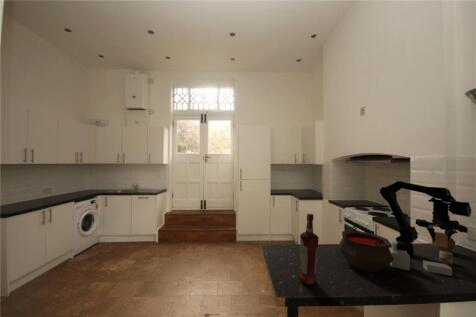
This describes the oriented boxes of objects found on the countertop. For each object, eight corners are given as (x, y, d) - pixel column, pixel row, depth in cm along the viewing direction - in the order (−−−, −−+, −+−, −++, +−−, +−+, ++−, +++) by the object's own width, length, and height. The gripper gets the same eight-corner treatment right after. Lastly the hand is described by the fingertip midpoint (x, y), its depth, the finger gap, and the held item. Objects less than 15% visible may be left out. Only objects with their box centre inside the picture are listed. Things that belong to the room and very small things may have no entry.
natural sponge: (436, 252, 122) (437, 235, 123) (430, 247, 130) (431, 231, 131) (457, 256, 118) (458, 239, 119) (450, 250, 126) (450, 234, 127)
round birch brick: (442, 263, 109) (442, 253, 109) (437, 259, 114) (437, 250, 114) (454, 265, 107) (455, 255, 107) (449, 261, 112) (449, 252, 112)
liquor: (296, 276, 90) (298, 211, 91) (312, 276, 90) (315, 212, 91) (302, 286, 83) (304, 216, 83) (320, 287, 83) (322, 217, 84)
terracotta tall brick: (435, 245, 106) (436, 234, 106) (432, 242, 110) (432, 231, 110) (447, 247, 104) (447, 235, 104) (443, 244, 108) (443, 233, 108)
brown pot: (407, 280, 91) (408, 243, 91) (350, 276, 92) (352, 239, 92) (374, 255, 115) (375, 226, 115) (329, 252, 116) (330, 223, 116)
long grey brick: (427, 271, 100) (427, 264, 100) (423, 267, 104) (423, 260, 104) (451, 276, 96) (452, 269, 96) (446, 271, 100) (446, 264, 101)
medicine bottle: (405, 264, 106) (405, 240, 106) (409, 270, 99) (410, 245, 100) (388, 261, 109) (388, 238, 109) (391, 267, 102) (392, 242, 103)
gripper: (423, 212, 104) (422, 243, 104) (475, 218, 96) (474, 252, 96) (415, 208, 114) (414, 236, 114) (461, 213, 106) (460, 244, 106)
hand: (439, 242), depth 107 cm, fingers closed on terracotta tall brick, 4 cm apart
